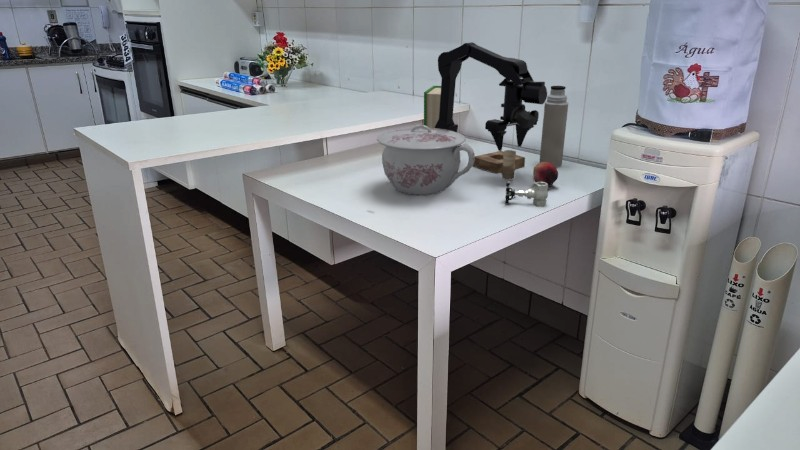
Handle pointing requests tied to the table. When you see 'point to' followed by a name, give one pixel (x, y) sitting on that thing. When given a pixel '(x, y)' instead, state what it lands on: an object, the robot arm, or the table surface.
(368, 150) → the table surface
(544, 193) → the valve
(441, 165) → the chamber pot
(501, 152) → the socket block
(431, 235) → the table surface
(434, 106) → the hardback book
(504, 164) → the peg
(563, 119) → the thermos bottle
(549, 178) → the fruit
